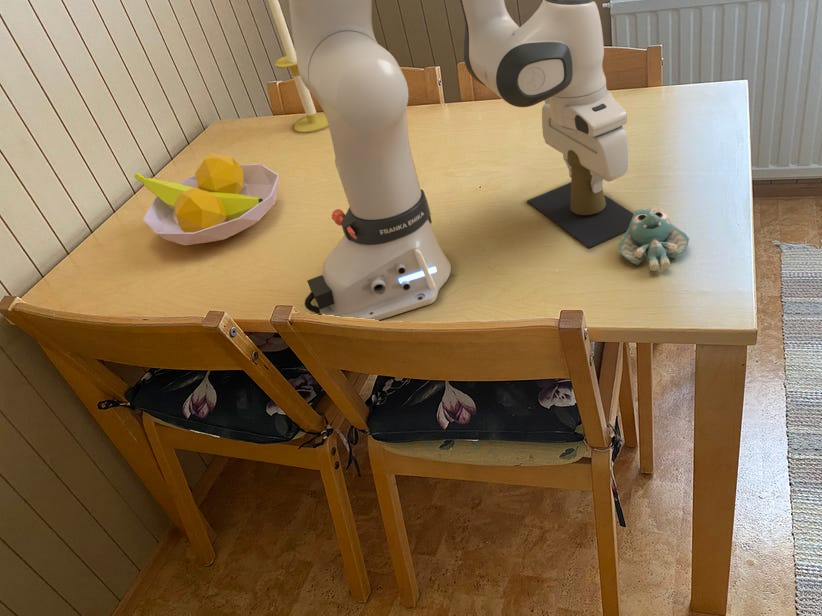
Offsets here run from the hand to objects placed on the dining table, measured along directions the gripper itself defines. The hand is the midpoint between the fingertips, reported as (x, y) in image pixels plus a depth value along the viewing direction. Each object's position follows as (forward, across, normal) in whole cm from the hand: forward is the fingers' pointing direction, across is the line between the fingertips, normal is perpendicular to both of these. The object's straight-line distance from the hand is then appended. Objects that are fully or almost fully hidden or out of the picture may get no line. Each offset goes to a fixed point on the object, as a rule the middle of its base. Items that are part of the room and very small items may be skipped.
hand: (586, 184), depth 125 cm
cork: (+4, 0, 0) cm, 4 cm away
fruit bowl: (+5, -48, -56) cm, 74 cm away
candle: (+5, -80, -26) cm, 84 cm away
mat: (+5, 0, -1) cm, 5 cm away
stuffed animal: (+5, +18, 0) cm, 19 cm away
